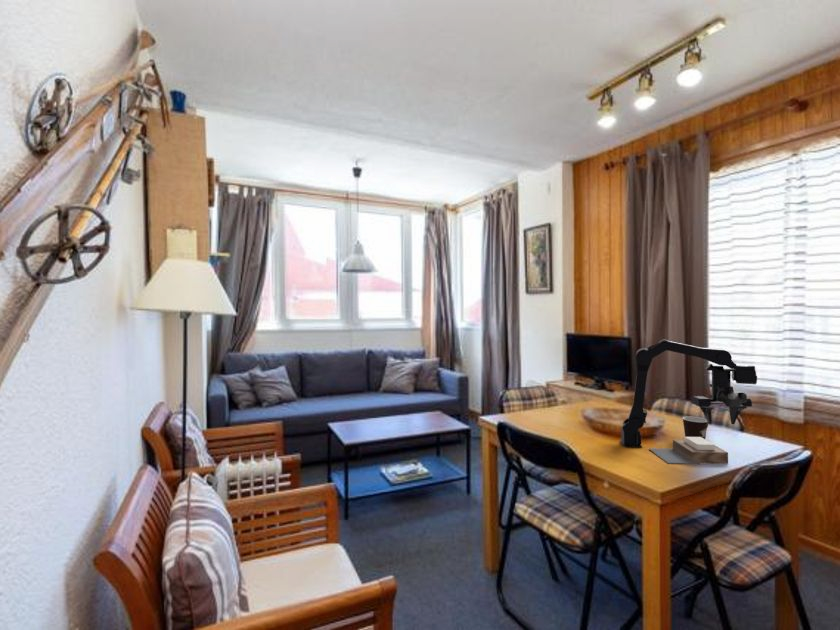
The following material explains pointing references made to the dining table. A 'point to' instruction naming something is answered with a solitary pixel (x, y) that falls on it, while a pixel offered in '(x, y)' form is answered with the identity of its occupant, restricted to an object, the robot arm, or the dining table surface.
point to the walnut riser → (701, 453)
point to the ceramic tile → (699, 443)
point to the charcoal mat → (672, 456)
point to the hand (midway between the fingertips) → (721, 424)
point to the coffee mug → (695, 427)
